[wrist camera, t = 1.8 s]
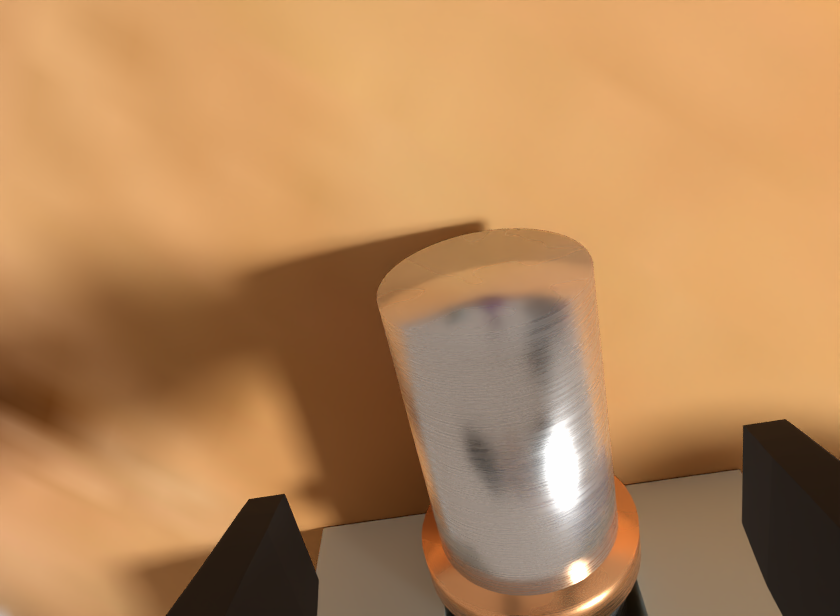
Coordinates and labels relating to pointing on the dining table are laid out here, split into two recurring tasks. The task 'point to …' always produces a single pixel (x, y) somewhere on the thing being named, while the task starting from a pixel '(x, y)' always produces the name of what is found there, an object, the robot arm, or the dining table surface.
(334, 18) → the dining table surface
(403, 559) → the block
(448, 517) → the silver copper cylinder
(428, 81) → the dining table surface
